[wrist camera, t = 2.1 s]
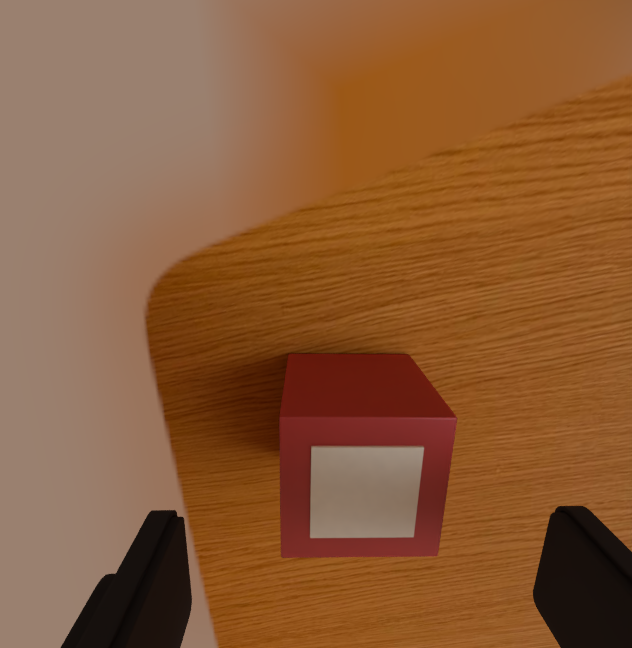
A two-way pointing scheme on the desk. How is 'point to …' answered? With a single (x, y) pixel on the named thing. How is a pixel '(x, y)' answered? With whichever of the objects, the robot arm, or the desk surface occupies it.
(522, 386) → the desk surface
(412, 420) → the red block
